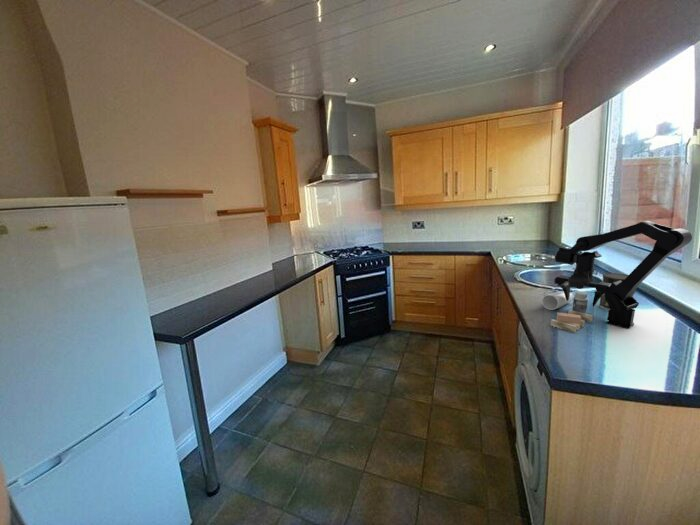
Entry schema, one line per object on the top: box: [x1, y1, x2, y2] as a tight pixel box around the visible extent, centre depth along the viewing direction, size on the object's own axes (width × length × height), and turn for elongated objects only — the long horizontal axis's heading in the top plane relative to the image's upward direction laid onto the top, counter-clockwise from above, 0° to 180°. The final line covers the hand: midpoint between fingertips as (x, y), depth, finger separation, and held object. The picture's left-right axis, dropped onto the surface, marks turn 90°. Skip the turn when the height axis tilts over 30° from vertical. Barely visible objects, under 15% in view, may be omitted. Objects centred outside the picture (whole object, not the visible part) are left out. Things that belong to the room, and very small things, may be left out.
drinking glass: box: [541, 290, 574, 311], centre depth 134 cm, size 7×7×15 cm
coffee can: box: [598, 272, 629, 311], centre depth 129 cm, size 10×10×14 cm
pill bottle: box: [571, 291, 589, 314], centre depth 126 cm, size 5×5×8 cm
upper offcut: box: [556, 312, 581, 324], centre depth 114 cm, size 7×3×2 cm, turn 62°
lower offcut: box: [564, 322, 581, 332], centre depth 114 cm, size 7×3×2 cm, turn 40°
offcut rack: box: [550, 309, 594, 334], centre depth 117 cm, size 8×16×2 cm, turn 124°
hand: (580, 303), depth 126 cm, fingers open, 9 cm apart
